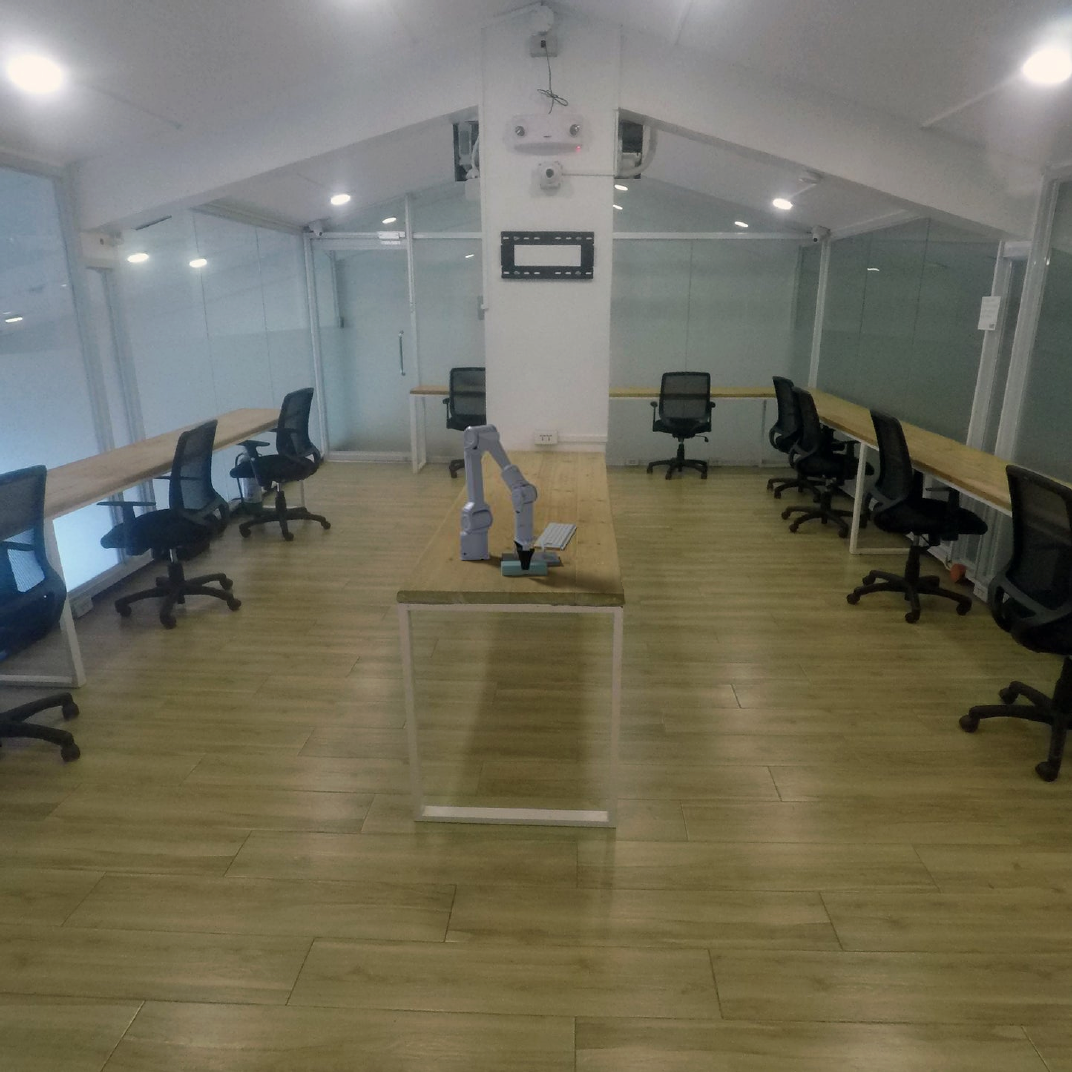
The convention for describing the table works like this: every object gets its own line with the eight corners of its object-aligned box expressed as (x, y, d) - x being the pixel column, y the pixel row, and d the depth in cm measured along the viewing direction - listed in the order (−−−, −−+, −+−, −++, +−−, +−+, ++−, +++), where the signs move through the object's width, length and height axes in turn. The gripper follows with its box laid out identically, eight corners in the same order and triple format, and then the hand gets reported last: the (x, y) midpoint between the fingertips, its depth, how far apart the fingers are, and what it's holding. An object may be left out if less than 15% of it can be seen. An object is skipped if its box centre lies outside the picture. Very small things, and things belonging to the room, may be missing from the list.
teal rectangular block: (502, 576, 232) (502, 566, 231) (501, 572, 237) (501, 561, 236) (547, 575, 234) (547, 564, 233) (545, 570, 238) (545, 559, 237)
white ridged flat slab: (581, 528, 286) (550, 526, 289) (581, 520, 286) (550, 519, 288) (567, 552, 257) (533, 550, 260) (567, 544, 257) (533, 542, 259)
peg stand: (503, 567, 240) (503, 550, 238) (501, 557, 250) (501, 541, 248) (559, 565, 242) (559, 549, 240) (555, 556, 251) (555, 540, 250)
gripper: (539, 529, 224) (539, 572, 228) (534, 517, 238) (534, 558, 242) (516, 530, 224) (516, 573, 227) (512, 518, 237) (512, 558, 241)
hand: (524, 565), depth 235 cm, fingers open, 7 cm apart
